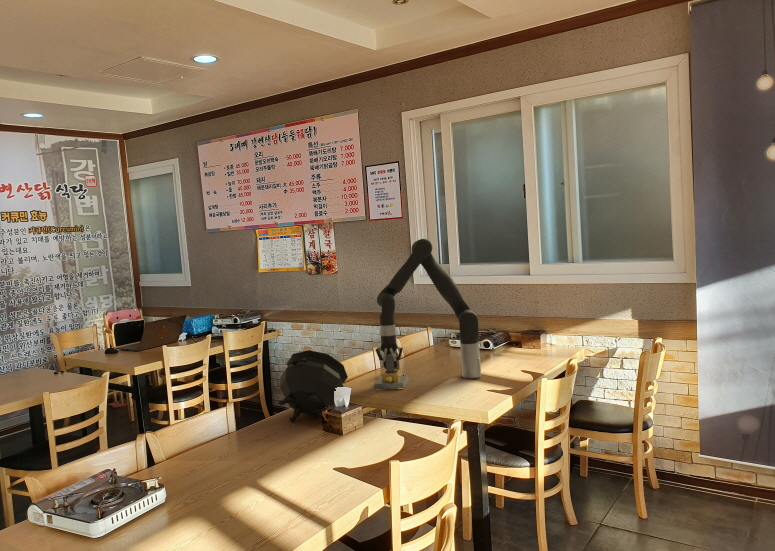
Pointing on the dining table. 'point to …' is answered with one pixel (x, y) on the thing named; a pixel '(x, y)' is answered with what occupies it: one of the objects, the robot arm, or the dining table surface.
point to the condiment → (397, 363)
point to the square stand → (391, 380)
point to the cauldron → (311, 382)
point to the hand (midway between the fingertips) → (390, 368)
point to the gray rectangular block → (390, 364)
